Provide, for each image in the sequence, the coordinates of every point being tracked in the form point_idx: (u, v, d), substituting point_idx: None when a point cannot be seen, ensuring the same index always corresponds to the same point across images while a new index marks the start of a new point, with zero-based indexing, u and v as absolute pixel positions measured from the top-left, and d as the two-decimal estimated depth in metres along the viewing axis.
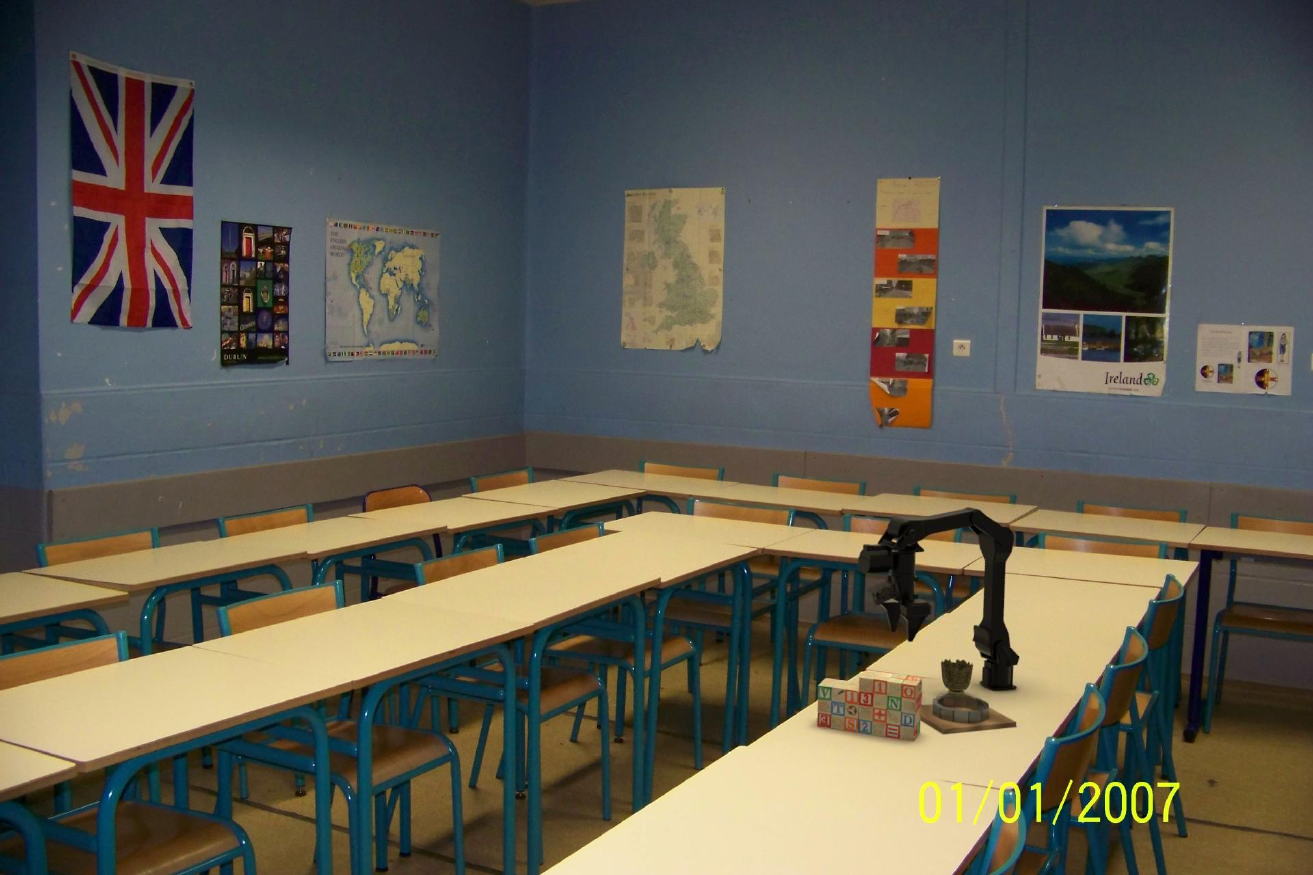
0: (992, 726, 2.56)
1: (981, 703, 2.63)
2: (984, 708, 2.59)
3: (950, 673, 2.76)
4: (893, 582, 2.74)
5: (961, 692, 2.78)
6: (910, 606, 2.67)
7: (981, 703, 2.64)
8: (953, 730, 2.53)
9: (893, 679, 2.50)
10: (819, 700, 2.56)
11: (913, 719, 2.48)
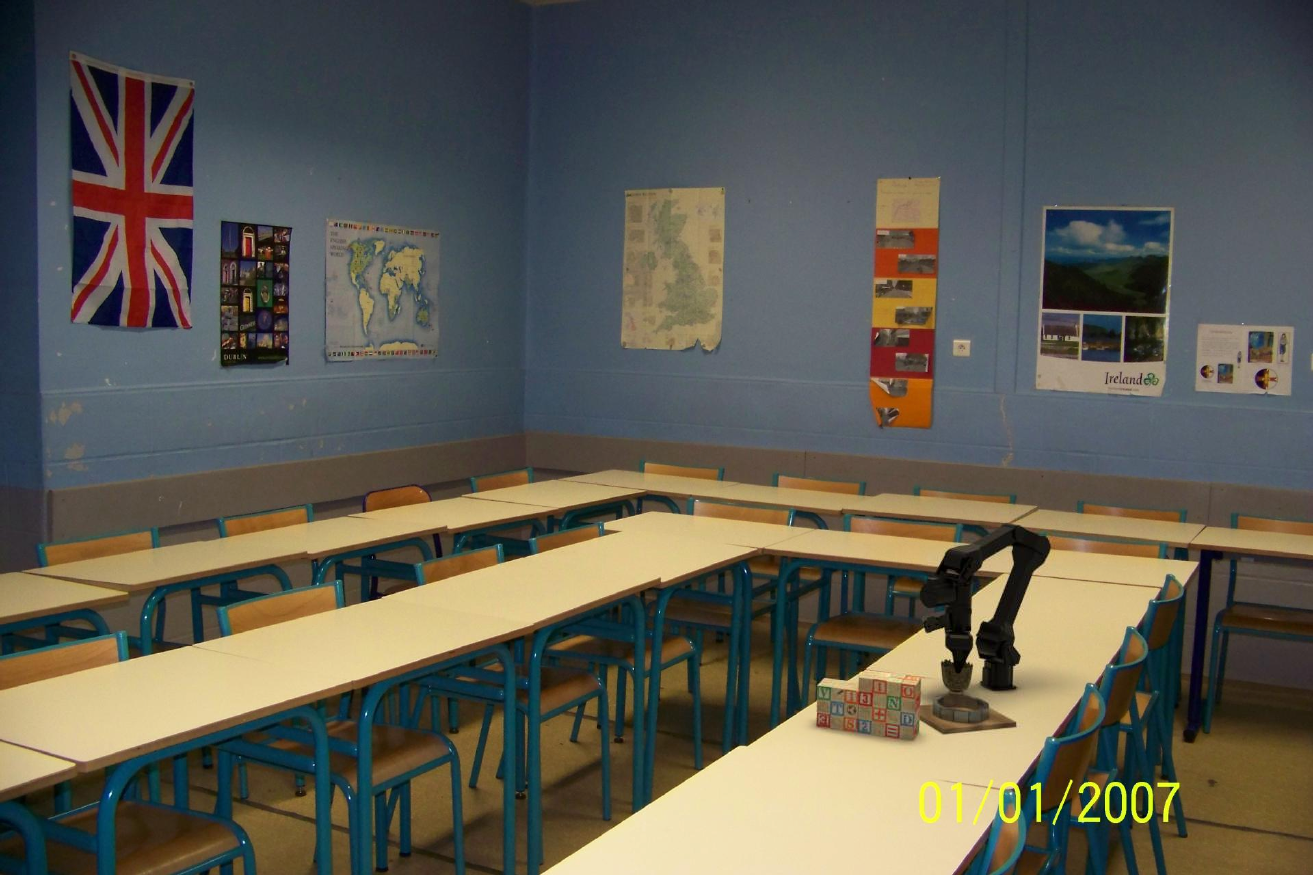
0: (992, 726, 2.56)
1: (981, 703, 2.63)
2: (984, 708, 2.59)
3: (950, 673, 2.76)
4: (945, 612, 2.76)
5: (961, 692, 2.78)
6: (948, 637, 2.70)
7: (981, 703, 2.64)
8: (953, 730, 2.53)
9: (892, 679, 2.50)
10: (818, 700, 2.56)
11: (913, 719, 2.48)
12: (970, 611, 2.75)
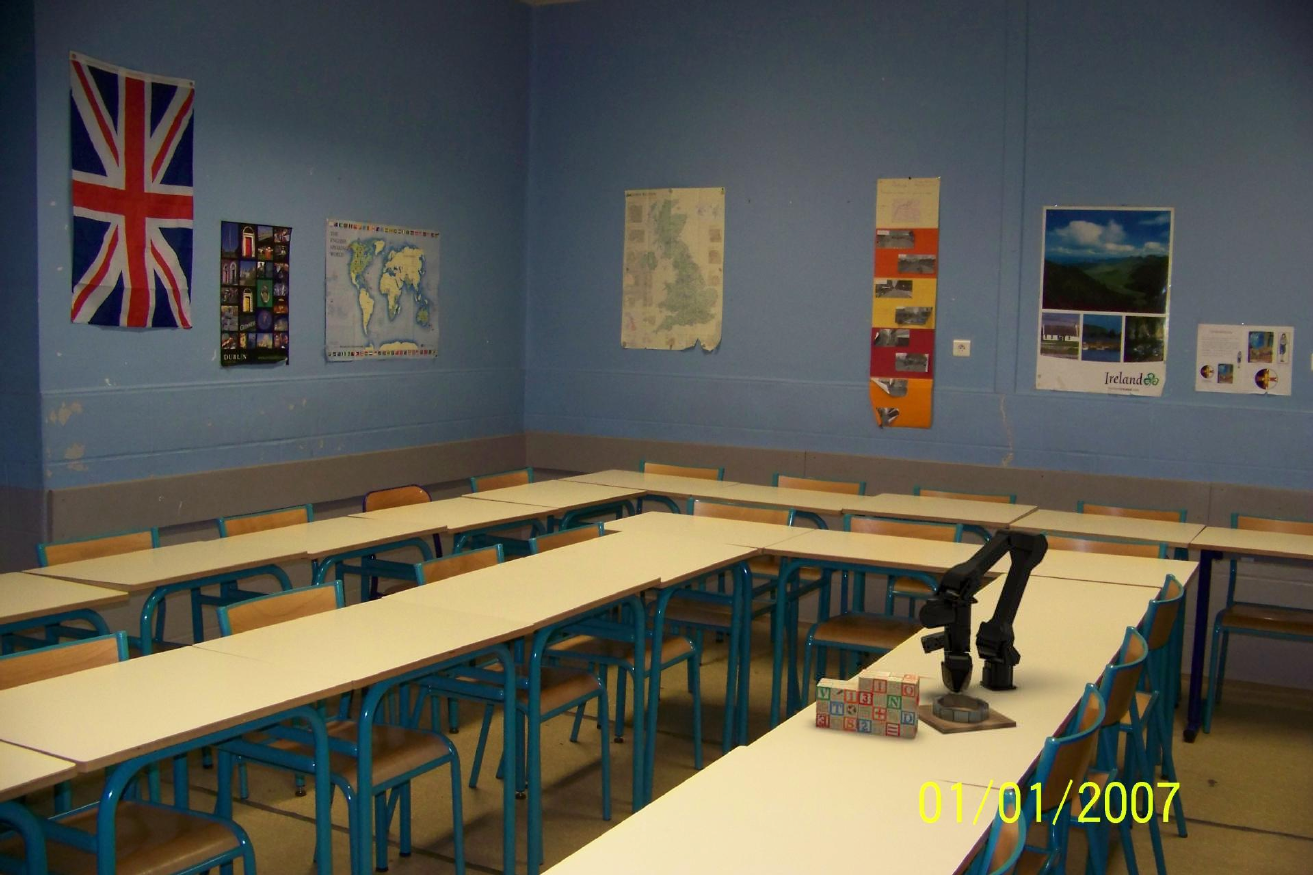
0: (992, 726, 2.56)
1: (981, 703, 2.63)
2: (984, 708, 2.59)
3: (950, 673, 2.76)
4: (944, 633, 2.77)
5: (961, 692, 2.78)
6: (948, 658, 2.70)
7: (981, 703, 2.64)
8: (953, 730, 2.53)
9: (892, 678, 2.51)
10: (818, 700, 2.56)
11: (913, 717, 2.49)
12: (969, 632, 2.75)
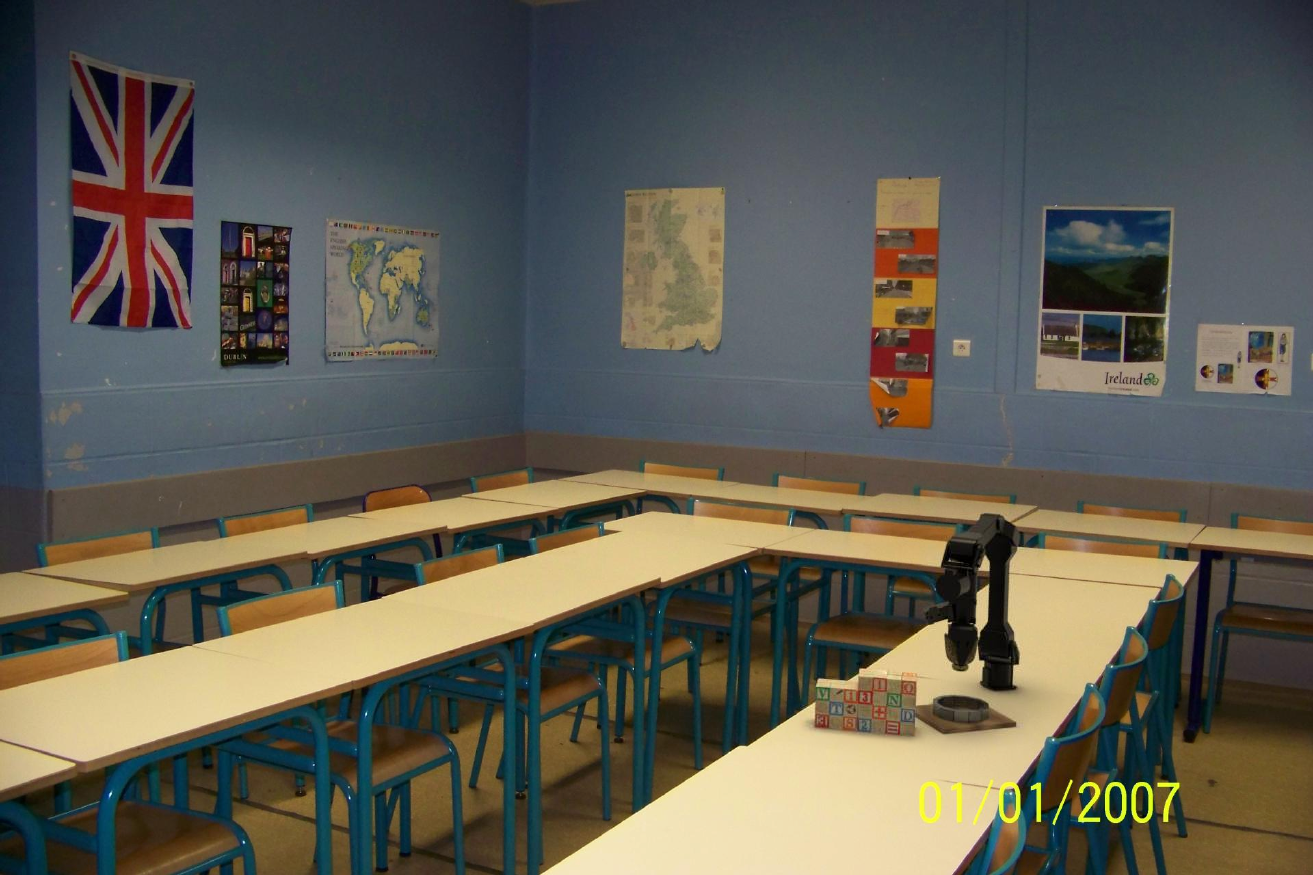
0: (992, 726, 2.56)
1: (981, 703, 2.63)
2: (984, 708, 2.59)
3: (954, 645, 2.60)
4: (948, 603, 2.61)
5: (965, 666, 2.62)
6: (952, 629, 2.54)
7: (981, 703, 2.64)
8: (953, 730, 2.53)
9: (891, 676, 2.52)
10: (817, 701, 2.55)
11: (913, 714, 2.51)
12: (975, 602, 2.59)
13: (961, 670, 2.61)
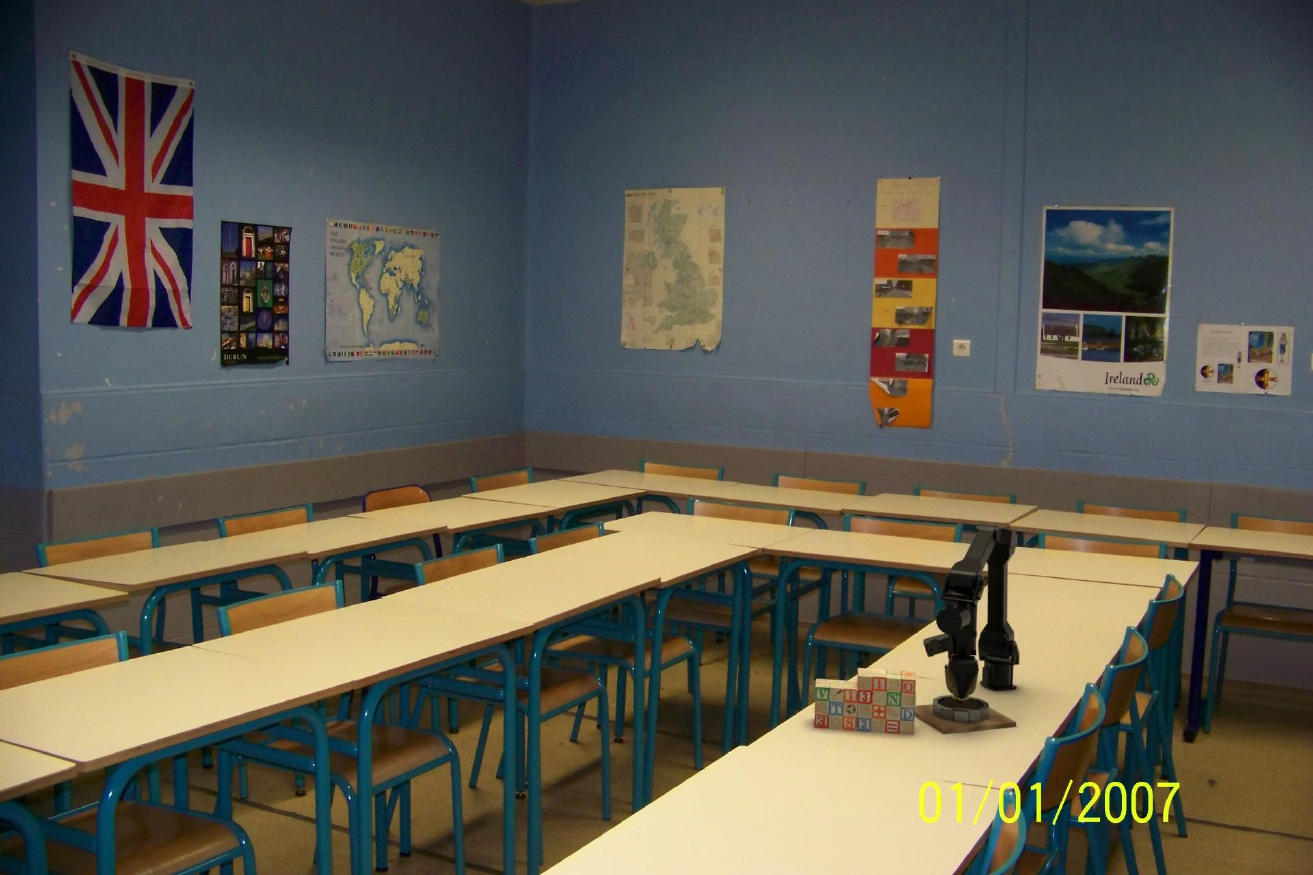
0: (992, 726, 2.56)
1: (981, 703, 2.63)
2: (984, 708, 2.59)
3: (954, 678, 2.59)
4: (948, 635, 2.60)
5: (966, 697, 2.61)
6: (952, 662, 2.53)
7: (981, 703, 2.64)
8: (953, 730, 2.53)
9: (890, 675, 2.53)
10: (816, 701, 2.55)
11: (913, 713, 2.52)
12: (975, 634, 2.58)
13: (962, 702, 2.61)
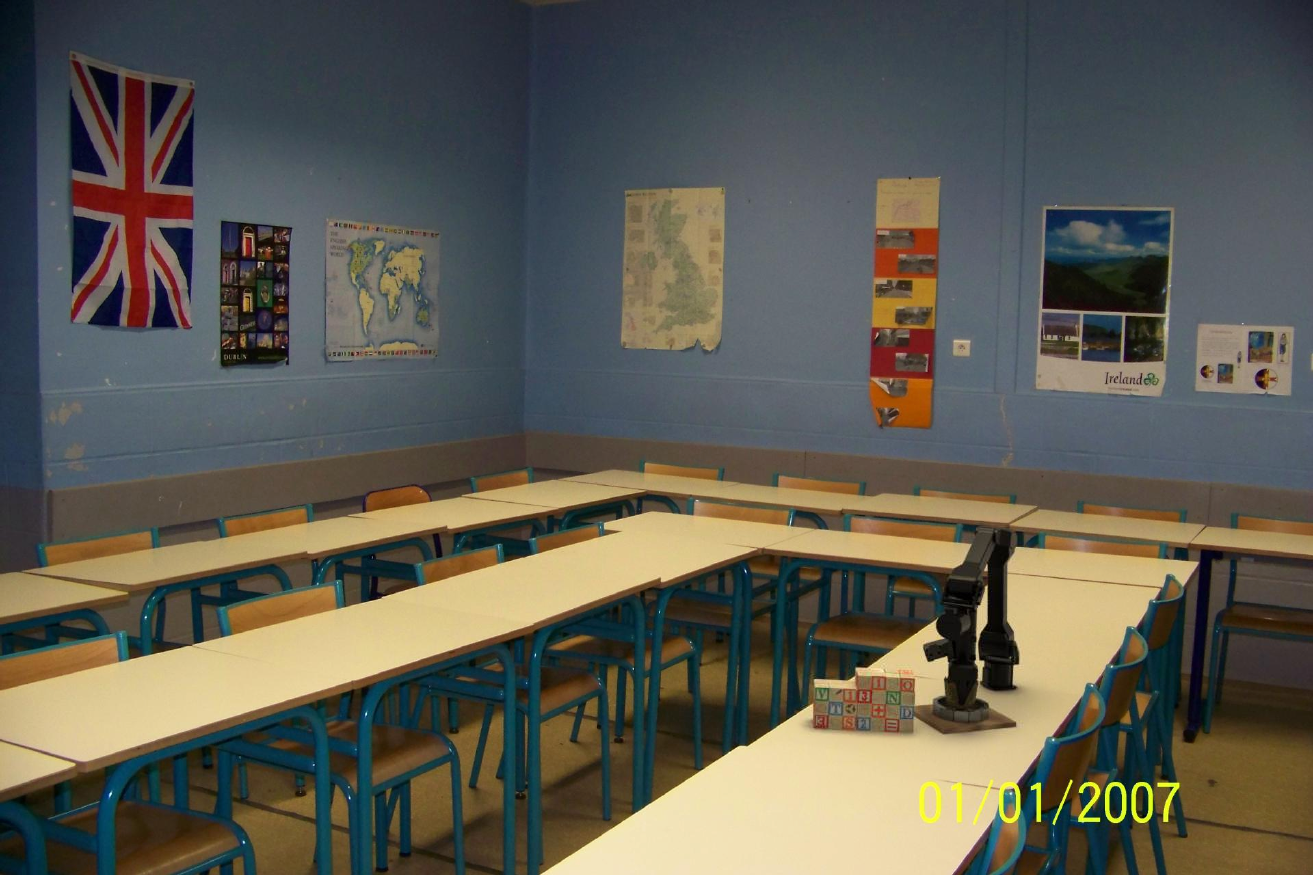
0: (992, 726, 2.56)
1: (981, 703, 2.63)
2: (984, 708, 2.59)
3: (954, 690, 2.59)
4: (948, 640, 2.60)
5: None
6: (952, 667, 2.53)
7: (981, 703, 2.64)
8: (953, 730, 2.53)
9: (889, 674, 2.54)
10: (816, 702, 2.55)
11: (912, 711, 2.53)
12: (975, 639, 2.58)
13: None
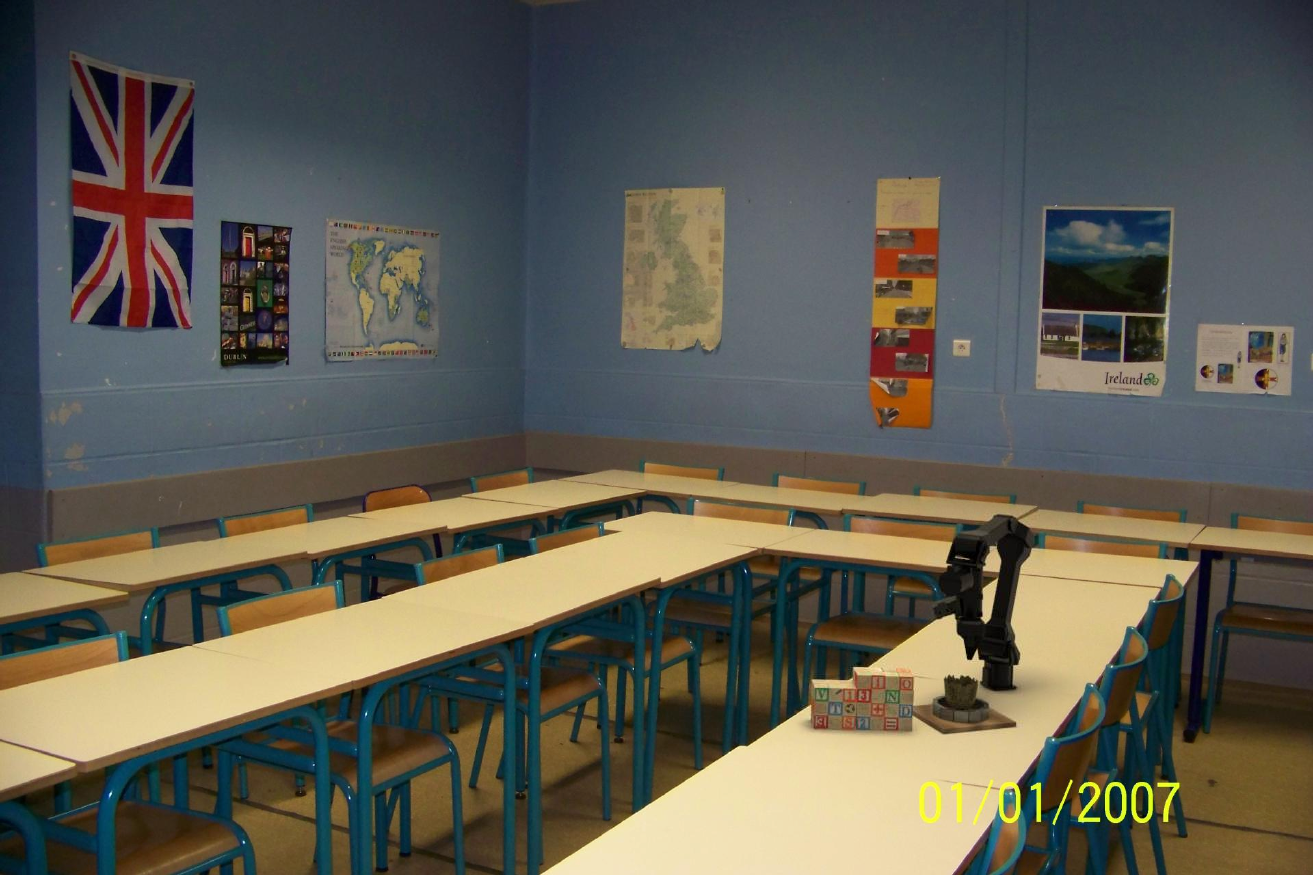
0: (992, 726, 2.56)
1: (981, 703, 2.63)
2: (984, 708, 2.59)
3: (954, 690, 2.59)
4: (955, 598, 2.70)
5: None
6: (960, 624, 2.64)
7: (981, 703, 2.64)
8: (953, 730, 2.53)
9: (888, 673, 2.55)
10: (816, 702, 2.54)
11: (911, 710, 2.54)
12: (981, 596, 2.69)
13: None
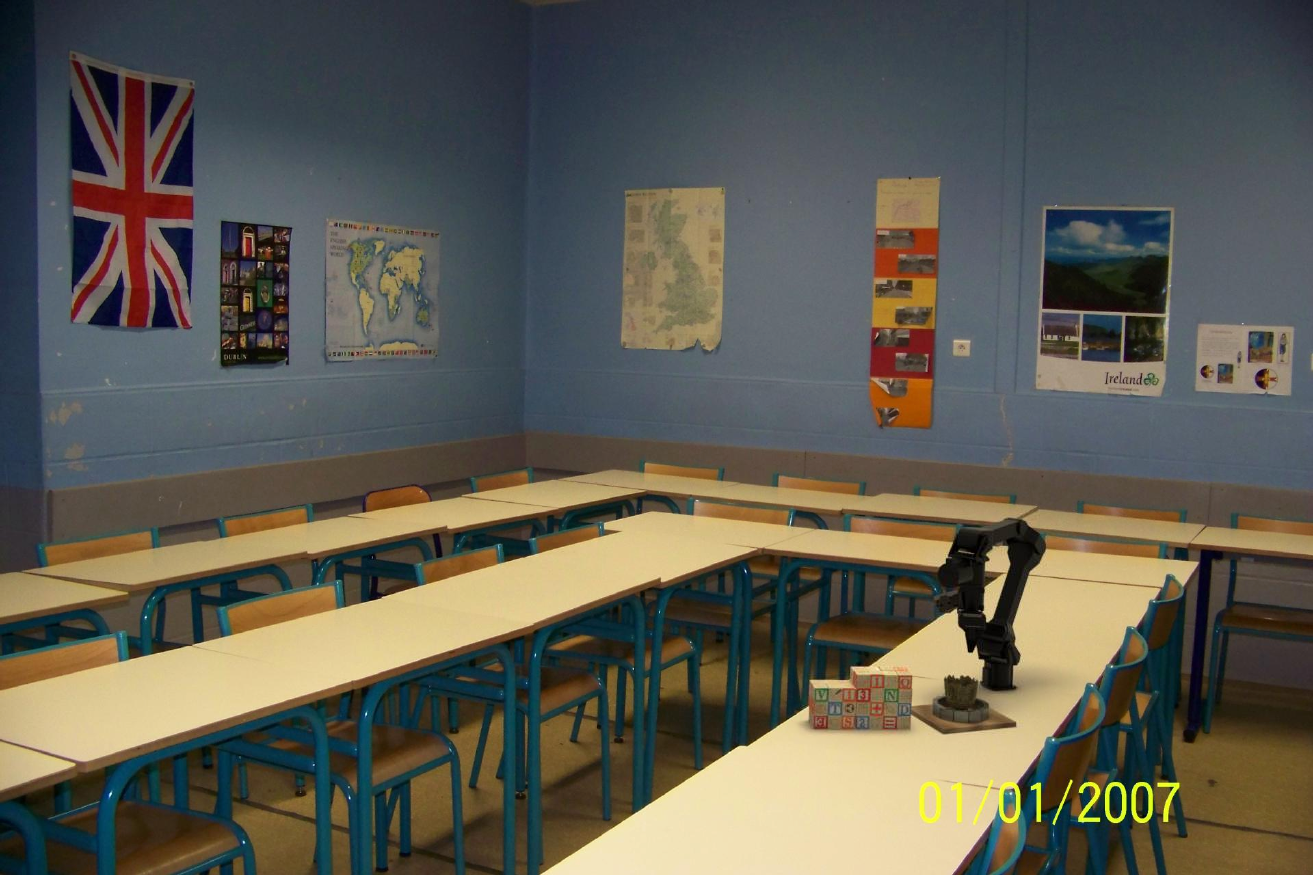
0: (992, 726, 2.56)
1: (981, 703, 2.63)
2: (984, 708, 2.59)
3: (954, 690, 2.59)
4: (957, 591, 2.75)
5: None
6: (961, 616, 2.68)
7: (981, 703, 2.64)
8: (953, 730, 2.53)
9: (887, 672, 2.56)
10: (816, 703, 2.54)
11: (909, 708, 2.55)
12: (983, 590, 2.73)
13: None
